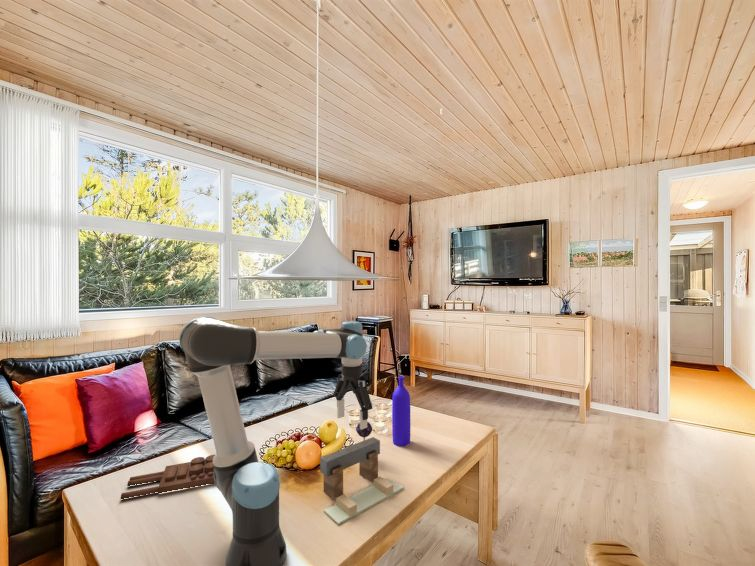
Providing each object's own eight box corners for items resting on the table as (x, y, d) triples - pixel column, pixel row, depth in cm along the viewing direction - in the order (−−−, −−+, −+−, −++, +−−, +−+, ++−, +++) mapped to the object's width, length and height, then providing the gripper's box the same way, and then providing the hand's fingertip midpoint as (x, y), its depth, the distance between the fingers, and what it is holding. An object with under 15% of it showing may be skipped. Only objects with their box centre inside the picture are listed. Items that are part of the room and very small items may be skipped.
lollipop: (370, 461, 144) (370, 425, 144) (354, 460, 145) (354, 423, 145) (374, 453, 151) (373, 418, 151) (358, 452, 152) (358, 417, 152)
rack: (333, 499, 119) (333, 470, 119) (323, 491, 124) (323, 463, 124) (378, 477, 132) (377, 451, 132) (367, 470, 137) (367, 445, 137)
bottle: (389, 440, 163) (388, 375, 163) (404, 437, 166) (404, 373, 166) (397, 448, 155) (397, 380, 155) (413, 444, 159) (413, 378, 159)
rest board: (338, 525, 107) (338, 515, 107) (323, 512, 113) (323, 502, 113) (403, 488, 125) (403, 480, 125) (388, 479, 131) (388, 471, 131)
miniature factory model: (218, 471, 129) (119, 490, 118) (218, 484, 129) (119, 504, 118) (219, 452, 144) (132, 467, 132) (219, 464, 144) (132, 480, 132)
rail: (326, 476, 119) (326, 461, 119) (320, 471, 122) (320, 457, 122) (379, 453, 134) (379, 440, 134) (373, 449, 137) (373, 437, 137)
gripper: (382, 368, 121) (382, 430, 121) (340, 357, 140) (340, 410, 140) (365, 372, 116) (365, 436, 116) (324, 360, 135) (324, 415, 135)
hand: (351, 422), depth 128 cm, fingers open, 13 cm apart
